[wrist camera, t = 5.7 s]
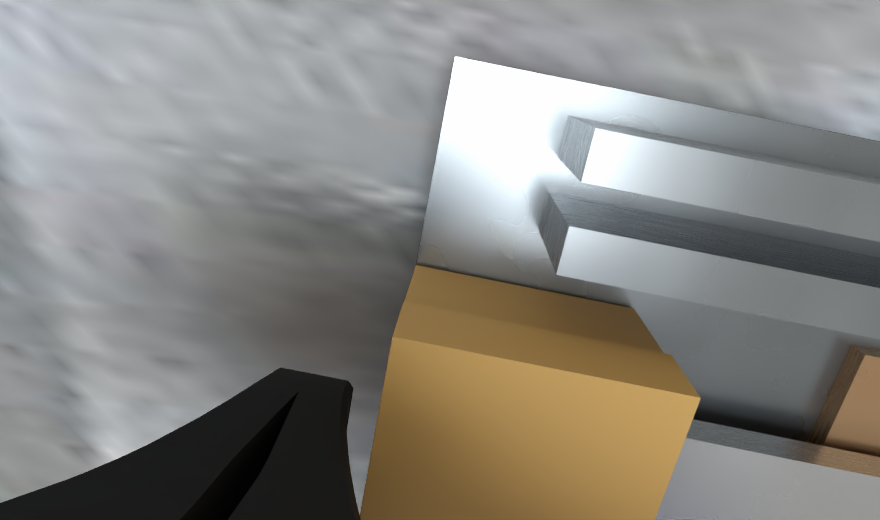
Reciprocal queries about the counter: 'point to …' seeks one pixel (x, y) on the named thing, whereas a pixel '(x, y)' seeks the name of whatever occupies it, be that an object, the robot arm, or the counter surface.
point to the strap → (768, 479)
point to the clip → (523, 408)
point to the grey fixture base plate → (678, 237)
